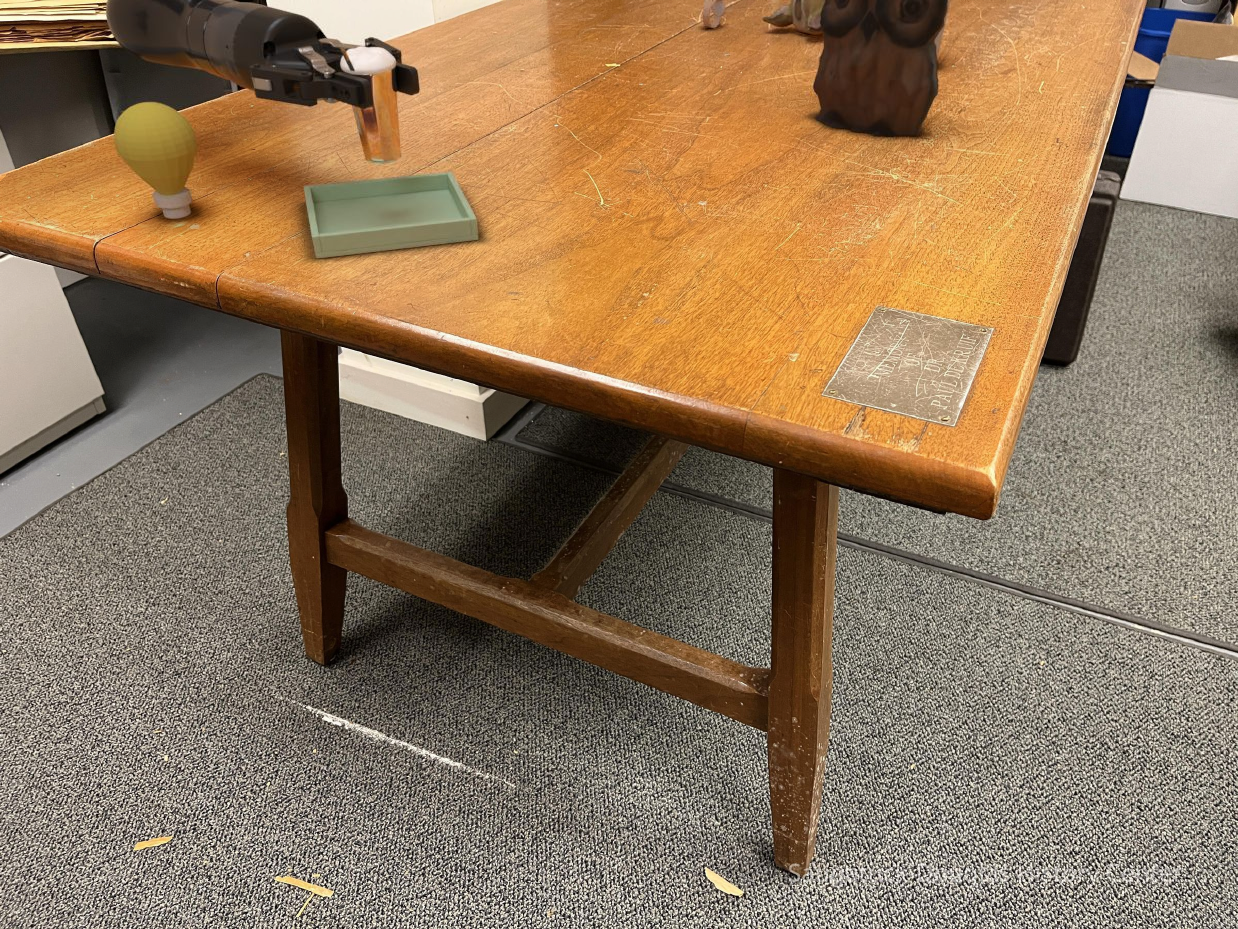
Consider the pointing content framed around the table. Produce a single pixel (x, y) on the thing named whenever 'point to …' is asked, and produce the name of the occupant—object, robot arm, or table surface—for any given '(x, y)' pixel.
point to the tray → (388, 214)
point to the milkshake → (376, 102)
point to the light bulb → (159, 153)
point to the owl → (878, 64)
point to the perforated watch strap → (717, 10)
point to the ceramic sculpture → (799, 16)
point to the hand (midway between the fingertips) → (392, 88)
